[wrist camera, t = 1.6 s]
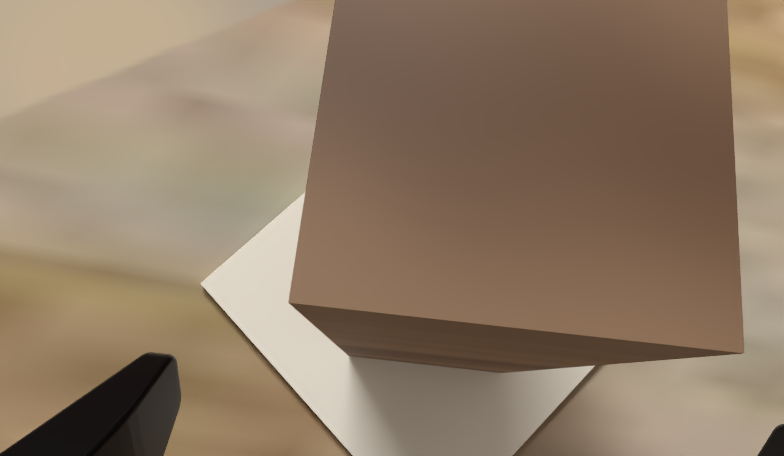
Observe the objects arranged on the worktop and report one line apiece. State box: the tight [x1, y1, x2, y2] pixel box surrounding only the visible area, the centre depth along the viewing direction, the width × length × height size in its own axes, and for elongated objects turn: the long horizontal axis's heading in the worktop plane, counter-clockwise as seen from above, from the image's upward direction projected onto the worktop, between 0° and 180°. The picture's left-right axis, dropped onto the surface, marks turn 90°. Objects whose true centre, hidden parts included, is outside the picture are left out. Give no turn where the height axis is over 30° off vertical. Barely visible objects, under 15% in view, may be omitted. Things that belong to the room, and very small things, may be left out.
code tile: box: [200, 193, 594, 456], centre depth 20 cm, size 11×11×1 cm
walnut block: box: [288, 0, 744, 373], centre depth 13 cm, size 5×5×13 cm
